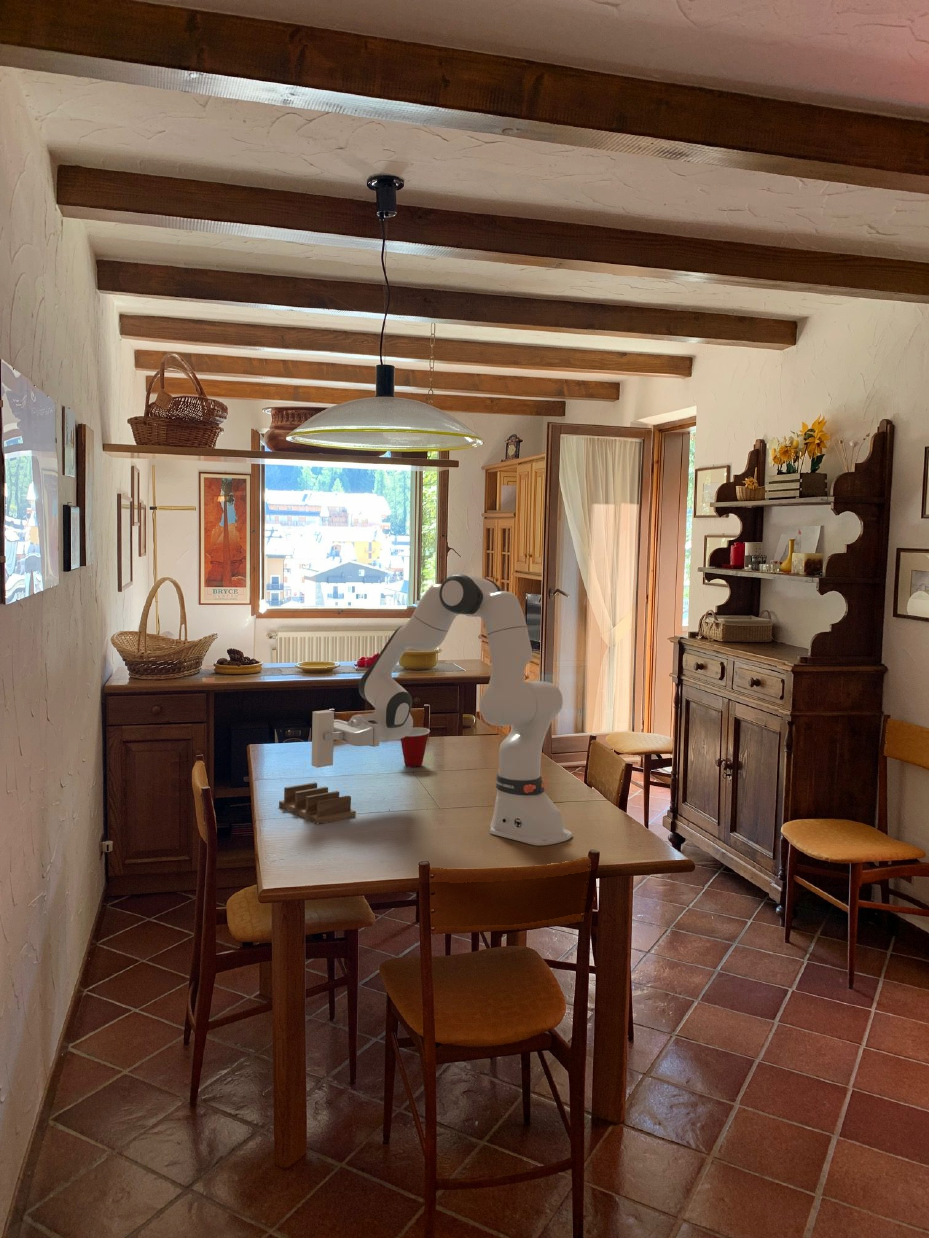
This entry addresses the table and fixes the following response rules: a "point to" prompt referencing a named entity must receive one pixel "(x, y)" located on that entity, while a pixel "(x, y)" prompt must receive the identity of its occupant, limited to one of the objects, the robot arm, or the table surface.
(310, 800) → the drying rack
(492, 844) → the table surface
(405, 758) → the plastic cup
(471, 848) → the table surface
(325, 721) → the clay strip
